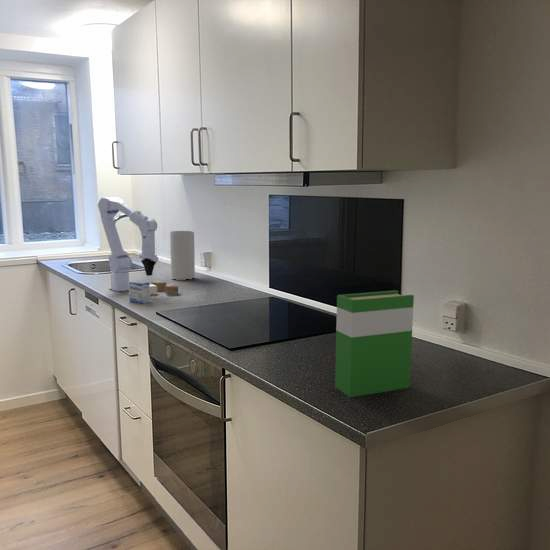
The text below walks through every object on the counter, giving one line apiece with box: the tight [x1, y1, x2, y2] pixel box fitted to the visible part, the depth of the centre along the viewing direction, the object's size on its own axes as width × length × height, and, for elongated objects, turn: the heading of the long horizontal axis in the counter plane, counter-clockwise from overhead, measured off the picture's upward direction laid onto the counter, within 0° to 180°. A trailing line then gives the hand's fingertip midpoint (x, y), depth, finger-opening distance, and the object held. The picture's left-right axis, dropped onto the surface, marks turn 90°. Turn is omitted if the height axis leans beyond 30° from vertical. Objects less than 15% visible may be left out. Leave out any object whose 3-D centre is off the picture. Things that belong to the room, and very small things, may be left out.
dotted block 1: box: [150, 280, 167, 292], centre depth 282 cm, size 5×5×4 cm
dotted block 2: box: [164, 283, 179, 296], centre depth 273 cm, size 5×5×4 cm
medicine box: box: [128, 280, 151, 304], centre depth 254 cm, size 8×4×9 cm, turn 62°
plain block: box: [150, 283, 158, 296], centre depth 273 cm, size 5×5×4 cm
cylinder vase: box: [169, 230, 196, 281], centre depth 314 cm, size 12×12×25 cm
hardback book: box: [334, 289, 415, 398], centre depth 149 cm, size 18×7×24 cm, turn 114°
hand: (149, 275), depth 272 cm, fingers closed
